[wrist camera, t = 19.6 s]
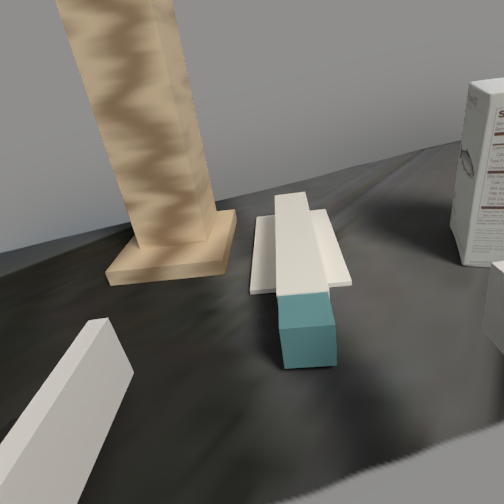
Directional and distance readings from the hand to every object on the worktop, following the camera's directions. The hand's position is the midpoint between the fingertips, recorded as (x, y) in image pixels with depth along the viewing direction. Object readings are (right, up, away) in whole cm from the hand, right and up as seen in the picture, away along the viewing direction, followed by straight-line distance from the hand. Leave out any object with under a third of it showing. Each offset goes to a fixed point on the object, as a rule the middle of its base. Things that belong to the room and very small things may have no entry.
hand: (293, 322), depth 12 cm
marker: (+3, +1, +17) cm, 17 cm away
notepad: (+3, +3, +22) cm, 22 cm away
